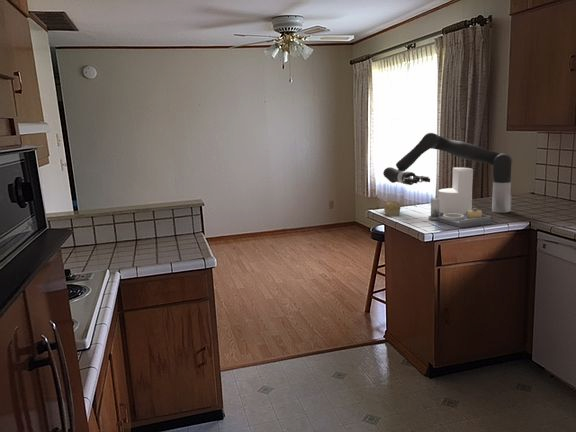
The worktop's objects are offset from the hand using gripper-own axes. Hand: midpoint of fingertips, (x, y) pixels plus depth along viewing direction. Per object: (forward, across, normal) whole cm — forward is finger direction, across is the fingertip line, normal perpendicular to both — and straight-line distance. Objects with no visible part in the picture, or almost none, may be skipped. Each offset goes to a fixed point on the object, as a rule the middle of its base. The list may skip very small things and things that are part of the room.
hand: (423, 180), depth 266 cm
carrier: (+24, +9, +20) cm, 33 cm away
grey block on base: (+11, 0, +20) cm, 23 cm away
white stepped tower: (-1, +23, +20) cm, 31 cm away
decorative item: (-13, -12, +21) cm, 27 cm away
